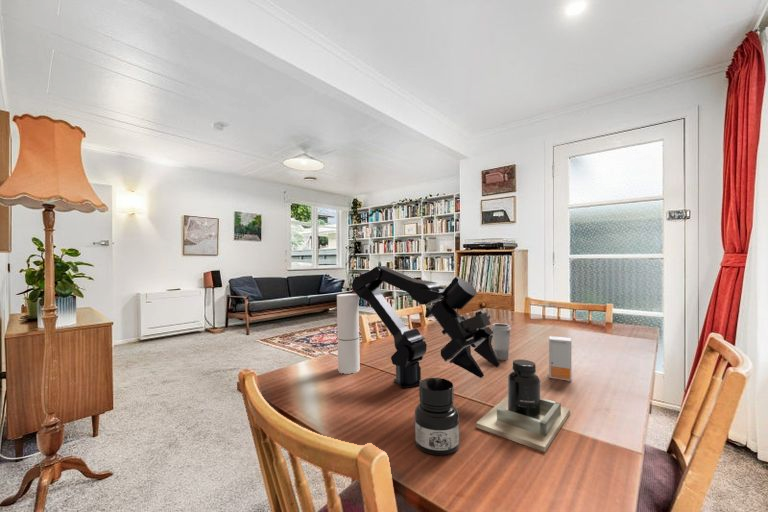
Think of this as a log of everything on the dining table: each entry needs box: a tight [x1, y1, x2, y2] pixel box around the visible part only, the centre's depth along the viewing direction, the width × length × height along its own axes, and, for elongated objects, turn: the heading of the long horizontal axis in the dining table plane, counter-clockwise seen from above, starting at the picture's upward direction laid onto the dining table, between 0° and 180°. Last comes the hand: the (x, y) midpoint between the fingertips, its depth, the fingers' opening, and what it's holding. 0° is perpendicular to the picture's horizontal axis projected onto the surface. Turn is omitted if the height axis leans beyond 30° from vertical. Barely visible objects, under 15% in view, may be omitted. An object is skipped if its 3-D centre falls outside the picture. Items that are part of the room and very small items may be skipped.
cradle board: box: [475, 395, 571, 453], centre depth 74 cm, size 14×20×4 cm
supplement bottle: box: [507, 359, 541, 419], centre depth 75 cm, size 7×7×12 cm
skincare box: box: [548, 335, 572, 382], centre depth 99 cm, size 6×4×12 cm
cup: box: [490, 322, 512, 361], centre depth 118 cm, size 7×7×12 cm
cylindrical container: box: [336, 293, 361, 375], centre depth 108 cm, size 7×7×25 cm
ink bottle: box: [414, 377, 460, 456], centre depth 66 cm, size 10×9×12 cm
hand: (490, 371), depth 79 cm, fingers open, 9 cm apart
